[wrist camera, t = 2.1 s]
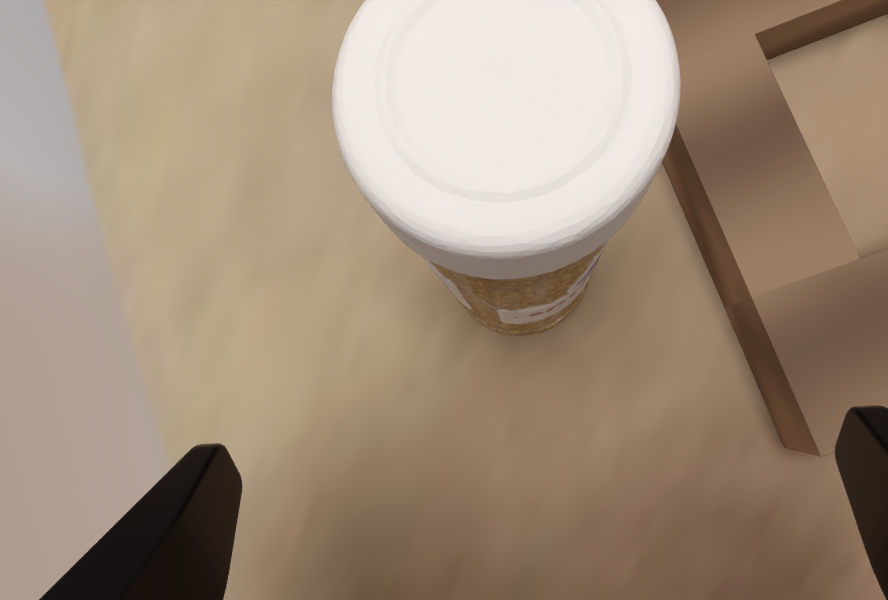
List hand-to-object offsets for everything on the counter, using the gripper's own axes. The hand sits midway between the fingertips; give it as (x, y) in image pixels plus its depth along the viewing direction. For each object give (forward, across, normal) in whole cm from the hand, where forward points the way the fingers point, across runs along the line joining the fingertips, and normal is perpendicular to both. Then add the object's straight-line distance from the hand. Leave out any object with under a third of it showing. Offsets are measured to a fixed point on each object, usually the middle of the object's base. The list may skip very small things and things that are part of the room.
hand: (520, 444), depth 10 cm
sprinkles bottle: (+12, 0, +5) cm, 13 cm away
